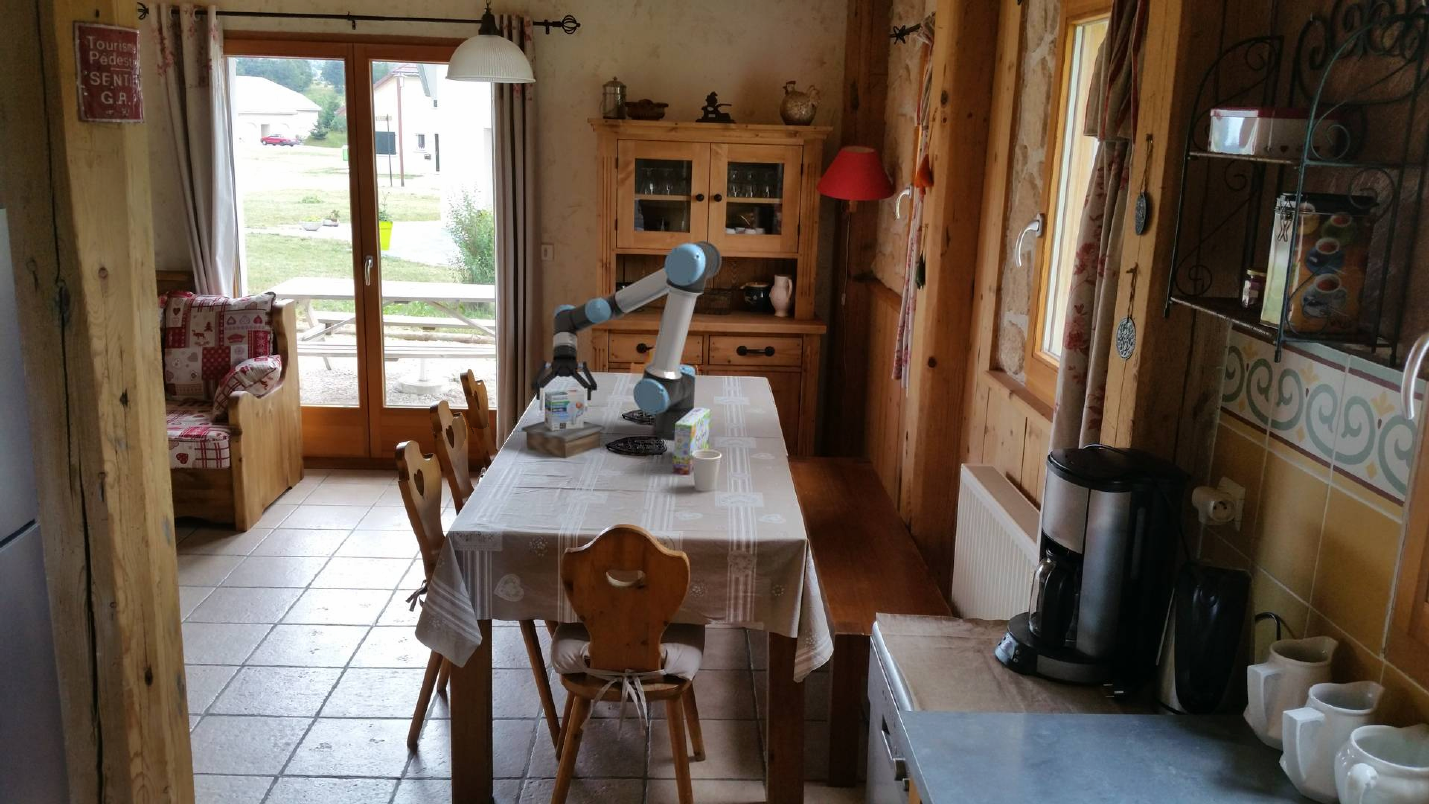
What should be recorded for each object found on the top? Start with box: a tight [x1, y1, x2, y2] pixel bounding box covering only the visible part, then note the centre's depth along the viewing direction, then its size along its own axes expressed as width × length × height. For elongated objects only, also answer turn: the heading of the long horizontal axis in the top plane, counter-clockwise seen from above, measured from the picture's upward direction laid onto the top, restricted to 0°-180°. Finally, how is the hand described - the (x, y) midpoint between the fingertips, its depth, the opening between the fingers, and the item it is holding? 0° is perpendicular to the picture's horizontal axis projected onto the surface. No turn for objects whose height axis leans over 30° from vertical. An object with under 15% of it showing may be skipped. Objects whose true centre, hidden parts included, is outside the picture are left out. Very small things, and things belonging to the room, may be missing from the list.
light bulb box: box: [544, 389, 585, 431], centre depth 330 cm, size 11×7×11 cm, turn 119°
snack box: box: [672, 407, 711, 476], centre depth 319 cm, size 21×6×15 cm, turn 166°
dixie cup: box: [691, 449, 722, 493], centre depth 298 cm, size 8×8×10 cm
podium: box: [521, 420, 606, 459], centre depth 332 cm, size 18×18×6 cm
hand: (563, 408), depth 329 cm, fingers open, 13 cm apart
